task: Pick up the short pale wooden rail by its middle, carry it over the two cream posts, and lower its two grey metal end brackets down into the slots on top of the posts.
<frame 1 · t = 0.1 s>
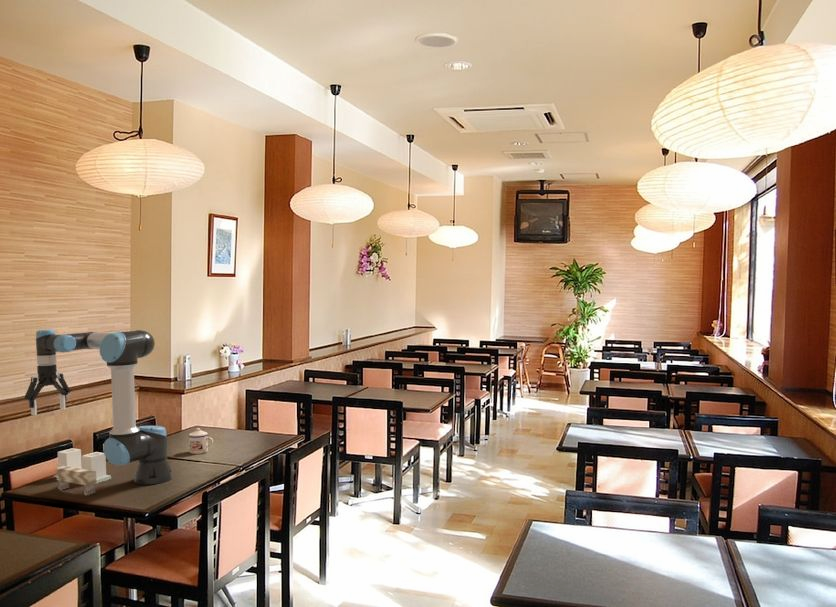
hand: (48, 412, 308), 28 cm above the table, tool pointing down, fingers open, 13 cm apart
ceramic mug: (120, 458, 336), on the table
headboard posts: (82, 478, 301), on the table
teacup with lid: (201, 452, 344), on the table
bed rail: (76, 491, 283), on the table
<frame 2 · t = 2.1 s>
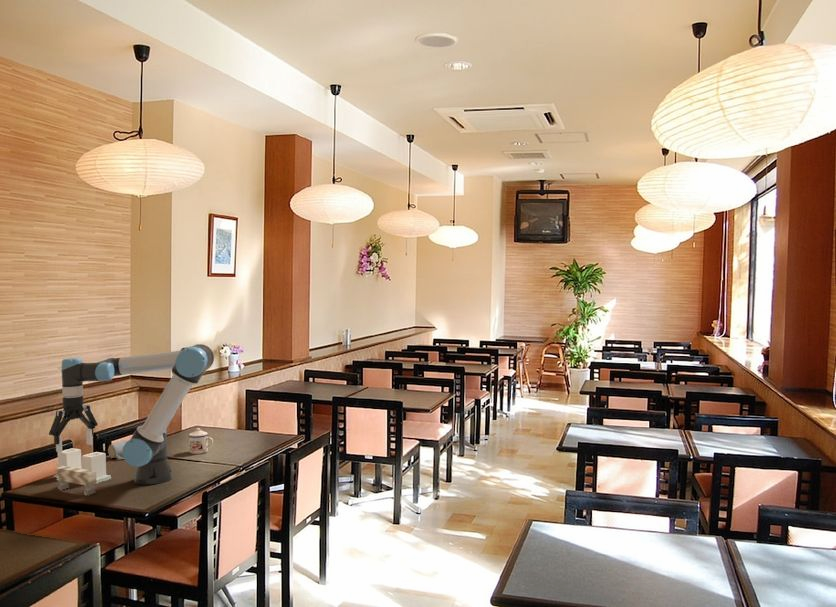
hand: (74, 448, 283), 18 cm above the table, tool pointing down, fingers open, 13 cm apart
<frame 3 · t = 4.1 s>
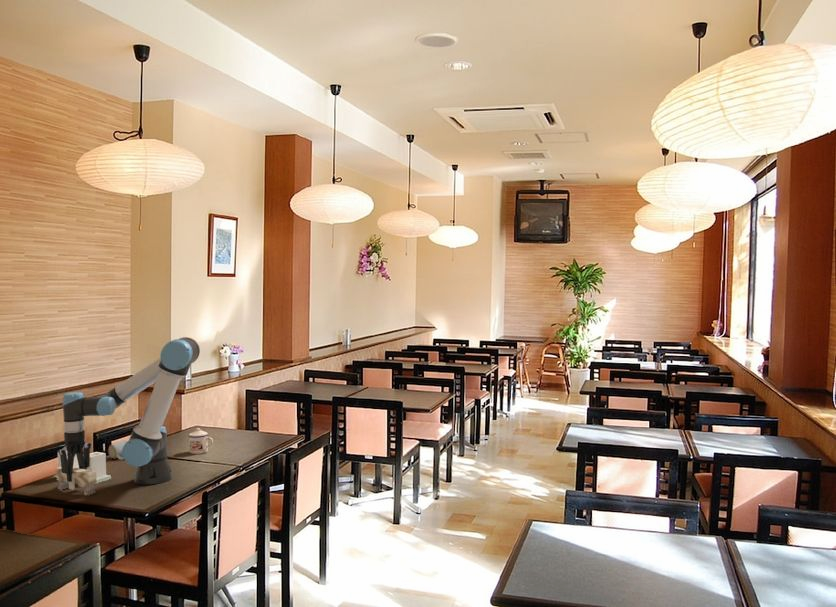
hand: (76, 487, 283), 2 cm above the table, tool pointing down, fingers closed on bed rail, 3 cm apart
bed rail: (76, 491, 283), on the table, touching gripper
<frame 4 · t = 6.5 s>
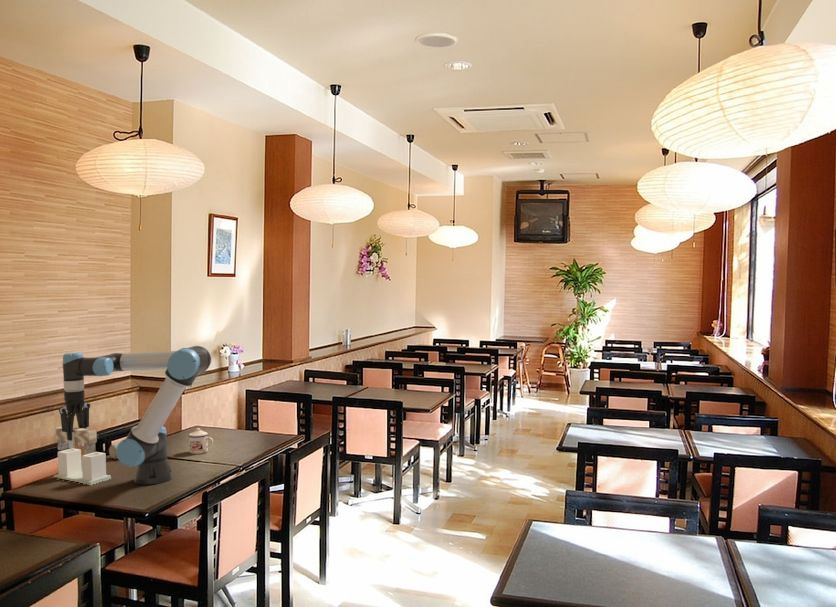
hand: (76, 446, 286), 18 cm above the table, tool pointing down, fingers closed on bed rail, 3 cm apart
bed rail: (76, 450, 286), point 16 cm above the table, touching gripper
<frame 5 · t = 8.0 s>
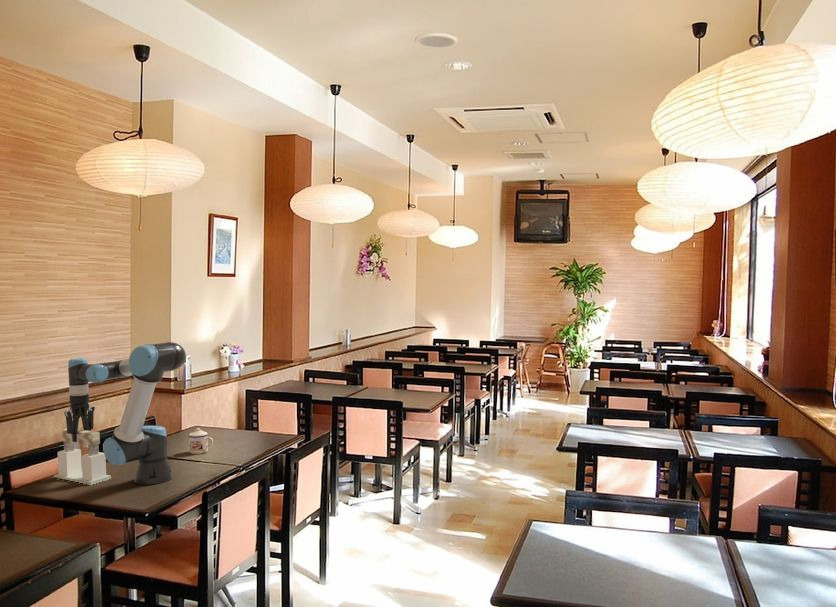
hand: (81, 447, 301), 14 cm above the table, tool pointing down, fingers closed on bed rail, 3 cm apart
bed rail: (81, 451, 301), point 12 cm above the table, touching gripper
when the fingers open (11 cm above the table, at t = 9.2 s): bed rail stays where it is, resting on headboard posts.
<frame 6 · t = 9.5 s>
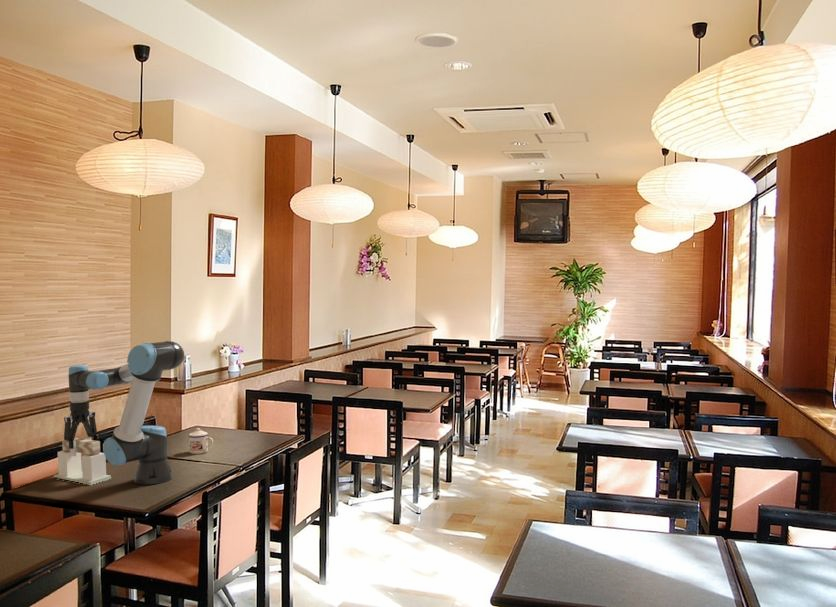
hand: (81, 453, 301), 11 cm above the table, tool pointing down, fingers open, 7 cm apart
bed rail: (81, 460, 301), point 8 cm above the table, touching headboard posts
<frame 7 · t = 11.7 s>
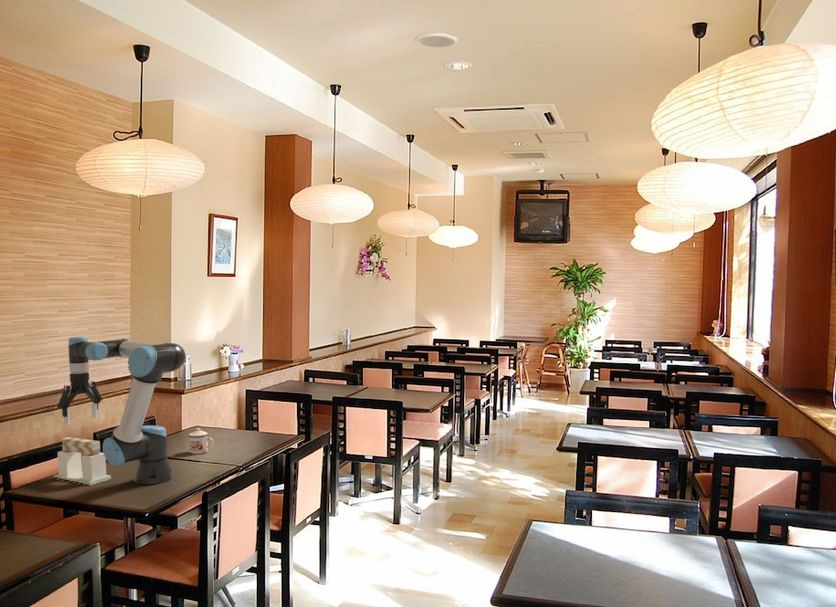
hand: (81, 421, 301), 25 cm above the table, tool pointing down, fingers open, 13 cm apart
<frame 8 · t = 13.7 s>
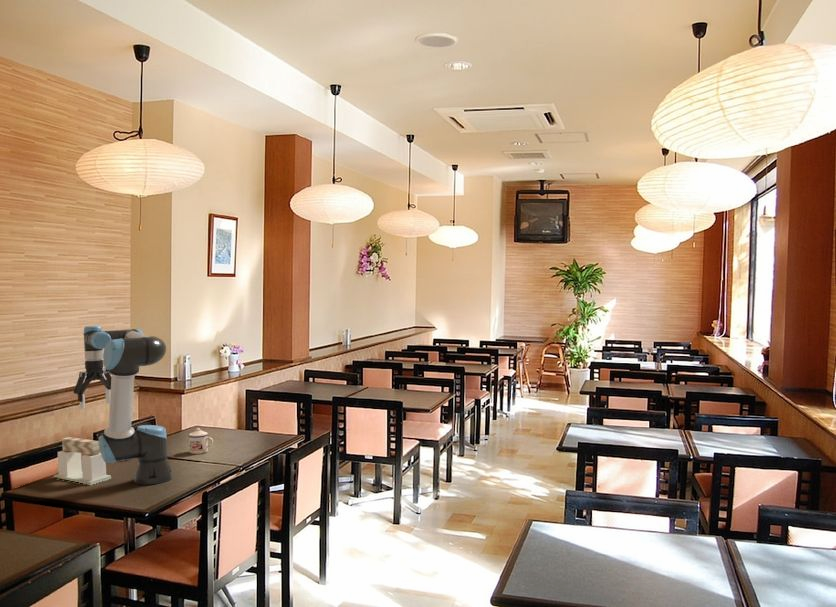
hand: (95, 406, 316), 29 cm above the table, tool pointing down, fingers open, 13 cm apart
at the end: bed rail 0.0 cm off-centre on the headboard posts, point 8.0 cm above the headboard posts's base; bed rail tilted 0°; the gripper is holding nothing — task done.
